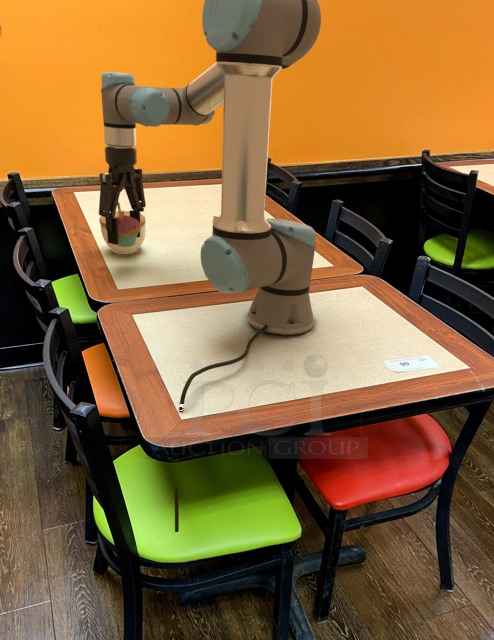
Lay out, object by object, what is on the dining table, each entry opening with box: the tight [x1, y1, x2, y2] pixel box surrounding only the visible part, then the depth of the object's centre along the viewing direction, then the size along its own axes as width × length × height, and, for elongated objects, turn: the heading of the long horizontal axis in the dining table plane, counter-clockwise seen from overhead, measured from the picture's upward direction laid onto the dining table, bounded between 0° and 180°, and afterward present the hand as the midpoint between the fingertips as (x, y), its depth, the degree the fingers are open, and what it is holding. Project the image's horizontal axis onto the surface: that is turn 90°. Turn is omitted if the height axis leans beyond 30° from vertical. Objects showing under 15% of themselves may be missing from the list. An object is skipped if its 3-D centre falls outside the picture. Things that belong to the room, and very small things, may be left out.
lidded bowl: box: [98, 209, 146, 255], centre depth 160 cm, size 13×13×11 cm
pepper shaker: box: [211, 213, 221, 236], centre depth 171 cm, size 4×4×10 cm
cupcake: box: [115, 201, 141, 247], centre depth 146 cm, size 9×8×12 cm
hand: (124, 239), depth 149 cm, fingers closed on cupcake, 9 cm apart
